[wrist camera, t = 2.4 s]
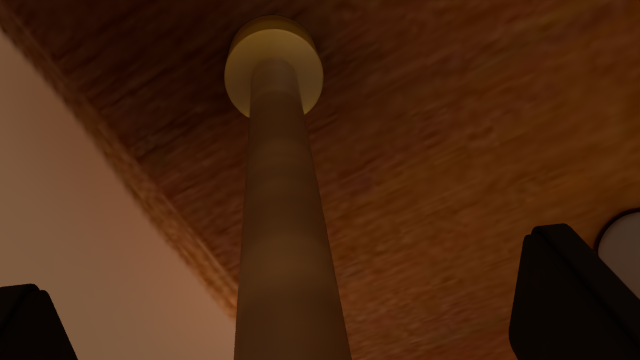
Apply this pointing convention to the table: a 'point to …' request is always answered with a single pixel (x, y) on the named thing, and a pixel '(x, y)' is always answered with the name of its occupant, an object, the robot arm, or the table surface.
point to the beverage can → (623, 250)
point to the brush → (282, 201)
